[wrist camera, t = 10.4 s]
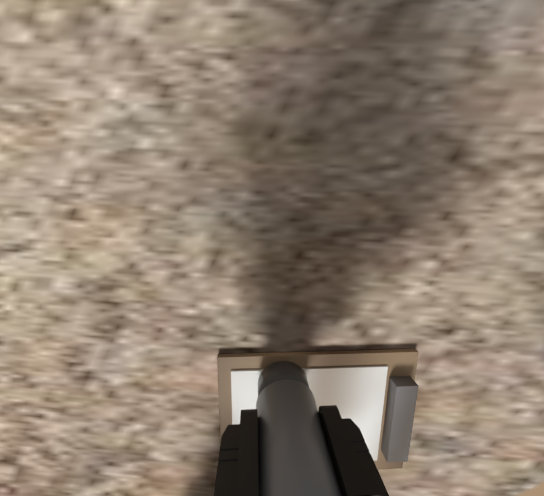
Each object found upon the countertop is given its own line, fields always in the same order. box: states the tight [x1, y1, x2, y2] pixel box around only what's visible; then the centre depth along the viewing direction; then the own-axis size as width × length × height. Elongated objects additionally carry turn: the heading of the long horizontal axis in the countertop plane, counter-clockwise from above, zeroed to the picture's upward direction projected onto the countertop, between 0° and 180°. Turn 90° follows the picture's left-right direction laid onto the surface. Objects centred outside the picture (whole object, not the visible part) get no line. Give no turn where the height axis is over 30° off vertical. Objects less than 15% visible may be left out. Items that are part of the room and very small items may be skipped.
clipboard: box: [217, 349, 418, 469], centre depth 15 cm, size 11×8×1 cm
